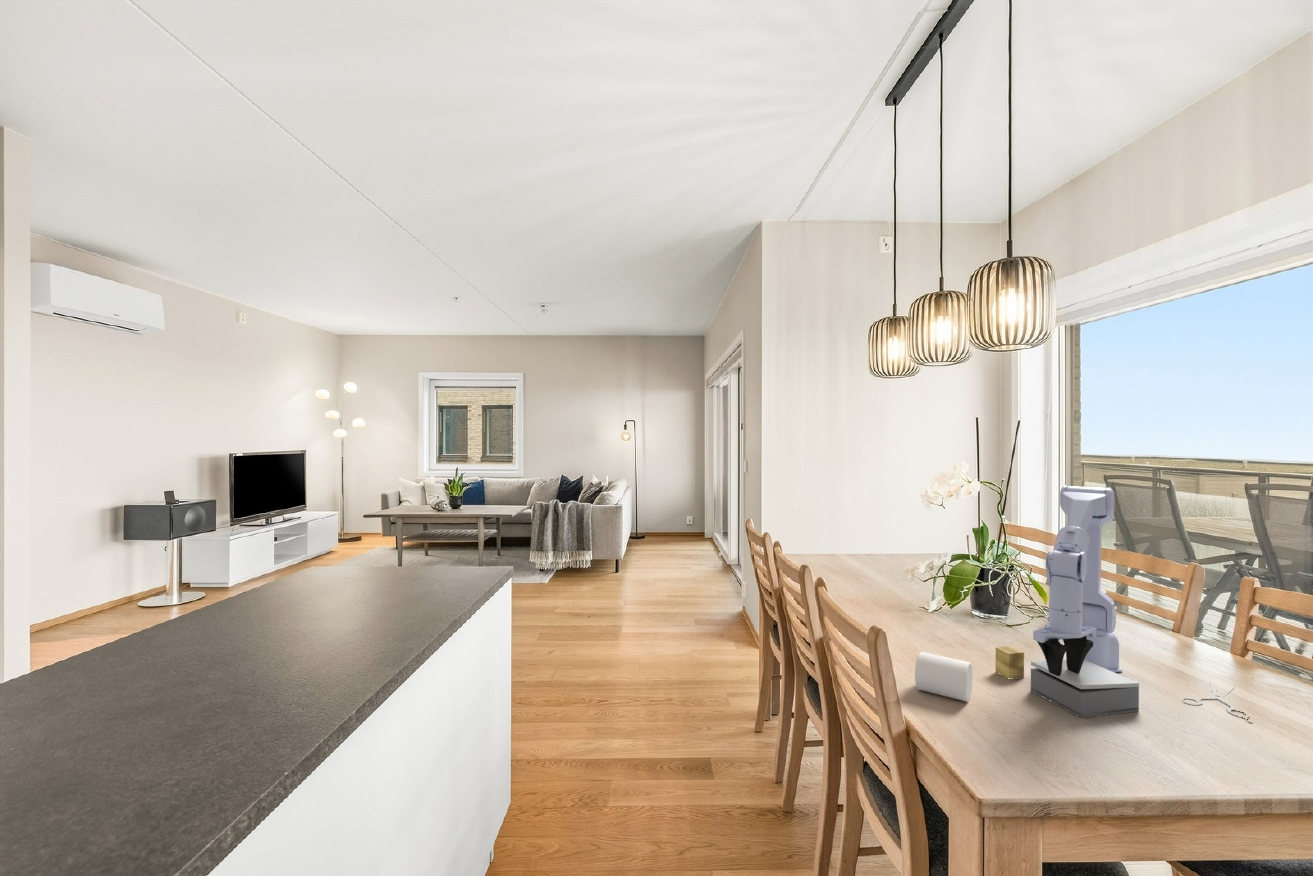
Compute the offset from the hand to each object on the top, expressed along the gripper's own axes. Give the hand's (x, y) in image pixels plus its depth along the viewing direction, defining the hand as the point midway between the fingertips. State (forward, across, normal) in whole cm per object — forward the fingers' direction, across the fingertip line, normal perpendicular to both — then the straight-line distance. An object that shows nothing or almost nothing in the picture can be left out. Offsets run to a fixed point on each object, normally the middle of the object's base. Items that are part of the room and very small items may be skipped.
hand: (1064, 673), depth 120 cm
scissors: (+6, -34, +7) cm, 35 cm away
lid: (+1, -5, 0) cm, 5 cm away
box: (+6, -5, 0) cm, 8 cm away
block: (+6, 0, -14) cm, 15 cm away
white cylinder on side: (+7, +20, -11) cm, 24 cm away
